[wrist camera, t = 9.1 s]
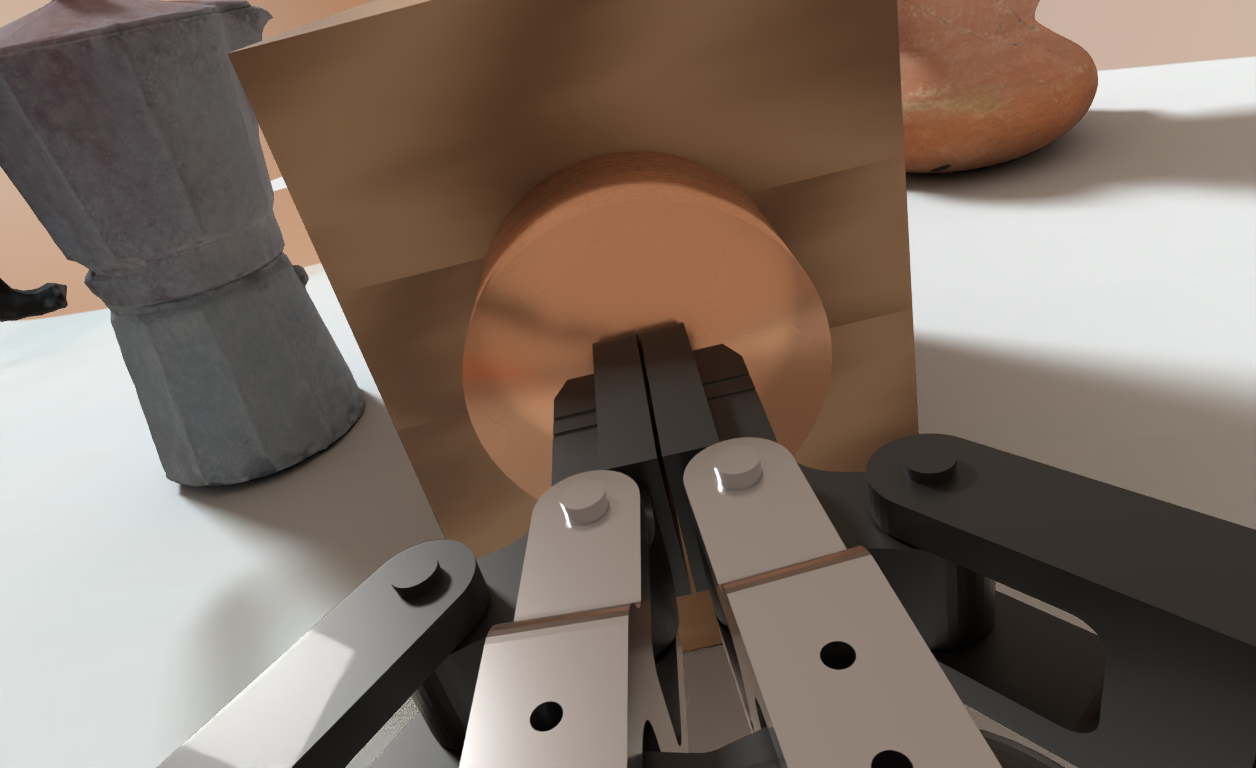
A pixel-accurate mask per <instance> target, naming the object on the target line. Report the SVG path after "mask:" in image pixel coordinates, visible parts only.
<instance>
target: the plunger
mask: <svg viewBox="0 0 1256 768" xmlns="http://www.w3.org/2000/svg"><path fill="white" fill-rule="evenodd" d="M681 322H684V325H685V329H686V332H687V335H688V339H689V342H690V345H691V349H692V351H693V350H697V349H701V348H706V347H710V346H714V345H719V344H724V345H726V346H727V347H729V348H730V349H732V350H734V351H735V352H737V353H738V354H740V355H741V356H742V357H743V360H744V362H745V365H746V367H747V369H748V372H749V375H750V377H751V379H752V381H753V384H754V386H755V390H756V391H757V393H758V396H759V398H760V401H761V403H762V406H763V408H764V410H765V413H766V415H767V418H768V420H769V422H770V425H771V427H772V430H773V432H774V435H775V437H776V439H777V442H778V444H780V445H782V446H784V447H785V448H786V449H787V450H789V452H790V453H791V454H792V455H793V456H794V455H795V454H796V452H797V451H798V450H799V448H800V447H801V446H802V444H803V443H804V442H805V440H806V439H807V437H808V435H809V433H810V432H811V430H812V428H813V426H814V425H815V423H816V421H817V419H818V416H819V414H820V411H821V409H822V406H823V404H824V401H825V398H826V394H827V390H828V386H829V382H830V374H831V365H832V346H831V335H830V330H829V324H828V319H827V316H826V313H825V310H824V307H823V304H822V302H821V299H820V297H819V295H818V293H817V291H816V289H815V287H814V285H813V283H812V282H811V280H810V278H809V277H808V275H807V274H806V272H805V271H804V270H803V268H802V267H801V265H800V264H799V263H798V261H797V260H796V258H795V257H794V256H793V254H792V253H791V252H790V250H789V249H788V247H787V246H786V245H785V243H784V242H783V240H782V239H781V238H780V236H779V235H778V234H777V232H776V231H775V229H774V228H773V227H772V225H771V224H770V222H769V221H768V220H767V218H766V217H765V216H764V214H763V213H762V212H761V210H760V209H759V208H758V206H757V205H756V204H755V202H754V201H753V200H752V199H751V198H750V197H749V196H748V195H747V194H746V193H745V192H744V191H743V190H742V189H741V188H740V187H739V186H737V185H736V184H735V183H733V182H732V181H730V180H729V179H728V178H726V177H725V176H724V175H722V174H720V173H718V172H717V171H715V170H713V169H711V168H709V167H707V166H706V165H703V164H701V163H698V162H695V161H693V160H690V159H687V158H684V157H680V156H676V155H671V154H667V153H660V152H649V151H628V152H616V153H611V154H605V155H600V156H596V157H593V158H589V159H586V160H583V161H580V162H577V163H575V164H573V165H571V166H568V167H566V168H564V169H562V170H560V171H558V172H556V173H554V174H553V175H551V176H550V177H548V178H547V179H545V180H544V181H542V182H541V183H539V184H538V185H537V186H535V187H534V188H533V189H532V190H531V191H530V192H529V193H527V194H526V195H525V196H524V197H523V198H522V199H521V200H520V201H519V202H518V203H517V204H516V206H515V207H514V208H513V209H512V210H511V211H510V212H509V213H508V215H507V216H506V218H505V219H504V221H503V222H502V224H501V225H500V227H499V229H498V230H497V232H496V234H495V236H494V238H493V240H492V242H491V244H490V247H489V249H488V252H487V255H486V258H485V261H484V264H483V268H482V272H481V276H480V280H479V285H478V289H477V293H476V298H475V302H474V306H473V311H472V315H471V319H470V324H469V328H468V332H467V336H466V342H465V348H464V355H463V371H462V383H463V389H464V396H465V403H466V407H467V410H468V413H469V416H470V420H471V423H472V425H473V427H474V429H475V432H476V434H477V436H478V438H479V440H480V442H481V444H482V445H483V447H484V448H485V450H486V451H487V453H488V454H489V456H490V457H491V459H492V460H493V461H494V462H495V464H496V465H497V466H498V467H499V468H500V469H501V470H502V471H503V473H504V474H505V475H506V476H507V477H508V478H510V479H511V480H512V481H513V482H514V483H515V484H516V485H518V486H519V487H520V488H521V489H522V490H524V491H525V492H527V493H528V494H530V495H531V496H533V497H534V498H536V499H537V500H539V499H540V497H541V496H542V495H543V494H544V493H545V492H546V491H547V490H548V489H550V488H551V483H552V449H553V438H554V436H553V422H554V419H553V414H554V399H555V397H556V396H557V394H558V393H559V391H560V390H561V388H562V387H563V385H564V384H565V382H566V381H567V380H568V379H573V378H577V377H581V376H586V375H590V374H594V365H593V349H592V344H593V343H596V342H600V341H604V340H609V339H613V338H617V337H621V336H626V335H630V334H634V333H636V334H637V338H638V341H639V345H640V349H641V353H642V357H643V361H644V365H645V369H646V364H645V359H644V353H643V348H642V342H641V337H640V332H642V331H647V330H651V329H655V328H659V327H664V326H668V325H672V324H676V323H681ZM646 373H647V370H646ZM647 377H648V375H647ZM648 382H649V381H648ZM677 518H678V517H677ZM678 522H679V521H678Z"/></svg>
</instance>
